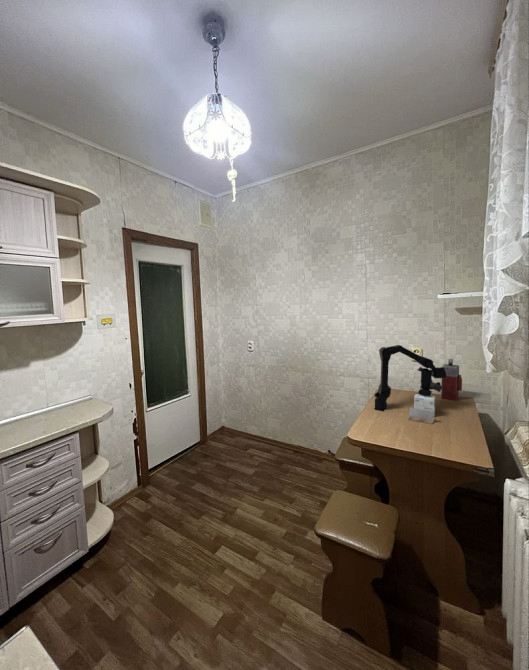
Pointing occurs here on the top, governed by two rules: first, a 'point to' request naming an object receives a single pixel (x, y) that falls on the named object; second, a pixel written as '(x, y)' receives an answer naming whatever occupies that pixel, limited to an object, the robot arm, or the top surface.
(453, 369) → the red thermos jug
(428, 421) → the shelf plank
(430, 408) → the light bulb box
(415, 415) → the grey thin panel
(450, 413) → the top surface
